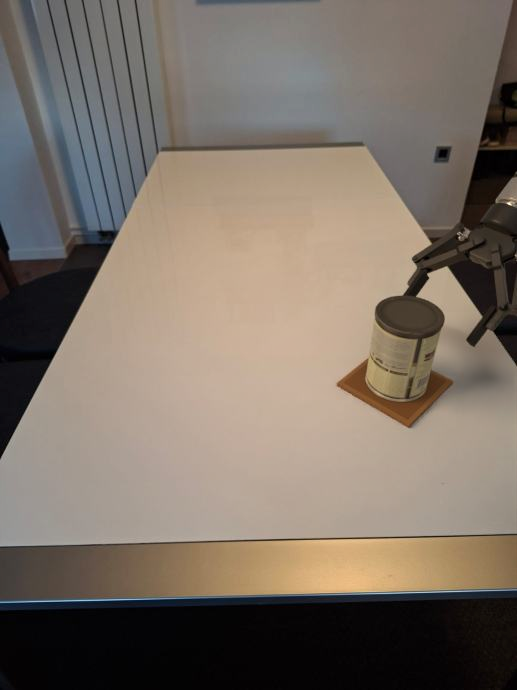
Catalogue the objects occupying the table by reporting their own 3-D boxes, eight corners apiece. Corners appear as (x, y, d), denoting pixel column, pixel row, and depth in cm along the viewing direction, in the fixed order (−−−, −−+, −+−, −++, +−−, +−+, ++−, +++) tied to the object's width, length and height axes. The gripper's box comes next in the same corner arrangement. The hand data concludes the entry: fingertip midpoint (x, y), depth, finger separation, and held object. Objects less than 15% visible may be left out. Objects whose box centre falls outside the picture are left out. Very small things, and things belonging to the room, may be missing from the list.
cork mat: (452, 383, 84) (453, 380, 84) (408, 427, 77) (409, 425, 76) (382, 348, 92) (383, 345, 92) (336, 385, 84) (336, 382, 84)
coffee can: (373, 356, 89) (384, 289, 81) (431, 371, 86) (449, 303, 77) (357, 392, 82) (367, 323, 73) (420, 410, 79) (439, 340, 70)
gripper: (596, 253, 74) (507, 368, 77) (456, 202, 90) (386, 298, 93) (592, 230, 68) (496, 355, 71) (443, 179, 84) (370, 283, 87)
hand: (434, 323), depth 82 cm, fingers open, 13 cm apart
